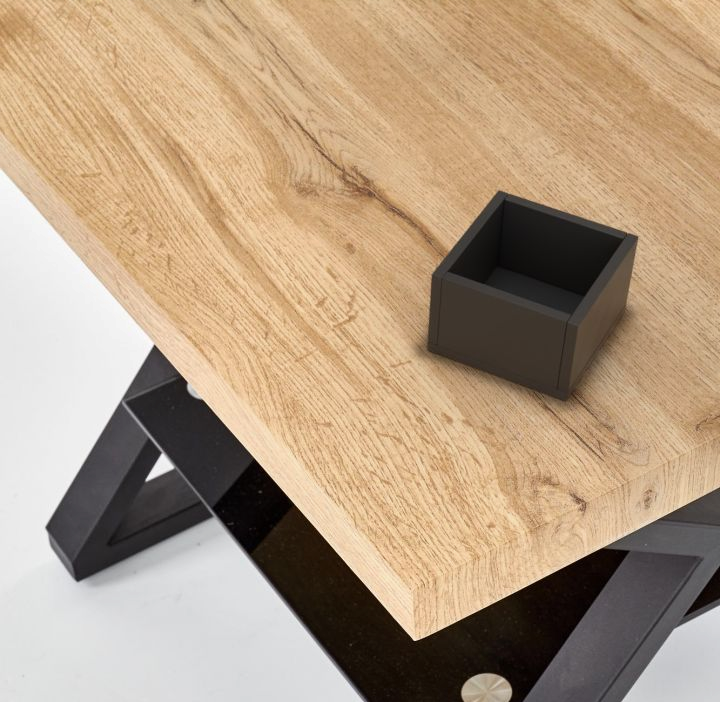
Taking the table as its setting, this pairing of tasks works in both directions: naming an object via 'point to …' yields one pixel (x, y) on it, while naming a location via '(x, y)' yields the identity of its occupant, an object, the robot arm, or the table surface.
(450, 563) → the table surface
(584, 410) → the table surface
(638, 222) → the table surface
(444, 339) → the dark grey square box
